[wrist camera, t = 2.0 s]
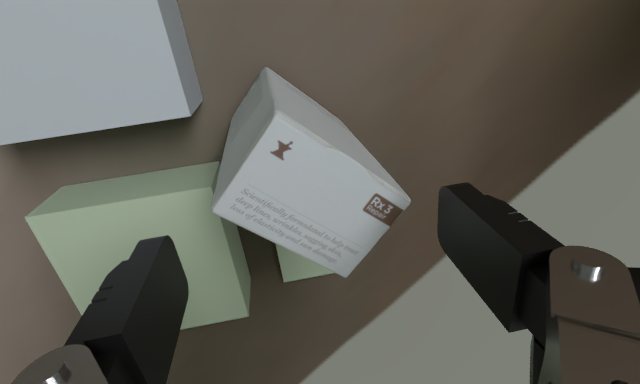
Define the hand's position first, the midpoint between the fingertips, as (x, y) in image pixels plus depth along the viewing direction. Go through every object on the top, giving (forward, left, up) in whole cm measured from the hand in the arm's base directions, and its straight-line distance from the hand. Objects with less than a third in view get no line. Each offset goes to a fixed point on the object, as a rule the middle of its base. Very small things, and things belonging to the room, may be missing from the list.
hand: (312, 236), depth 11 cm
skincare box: (0, 0, -14) cm, 14 cm away
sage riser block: (+10, +7, -14) cm, 18 cm away
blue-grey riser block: (+10, -7, -14) cm, 18 cm away
